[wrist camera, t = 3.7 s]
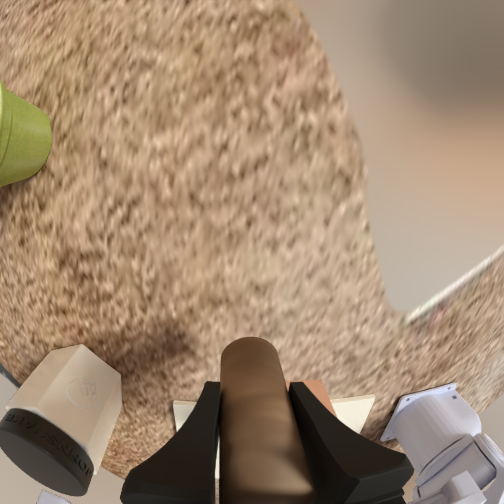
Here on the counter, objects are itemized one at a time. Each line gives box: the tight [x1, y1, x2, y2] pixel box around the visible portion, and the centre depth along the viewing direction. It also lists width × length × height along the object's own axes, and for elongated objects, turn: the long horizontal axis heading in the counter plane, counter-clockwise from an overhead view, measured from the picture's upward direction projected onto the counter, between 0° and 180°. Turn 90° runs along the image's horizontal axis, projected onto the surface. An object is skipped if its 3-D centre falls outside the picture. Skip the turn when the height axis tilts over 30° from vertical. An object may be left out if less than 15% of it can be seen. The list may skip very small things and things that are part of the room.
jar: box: [0, 344, 122, 496], centre depth 17 cm, size 9×8×12 cm
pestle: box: [219, 337, 316, 504], centre depth 11 cm, size 3×3×9 cm
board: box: [173, 394, 375, 478], centre depth 26 cm, size 20×14×1 cm
